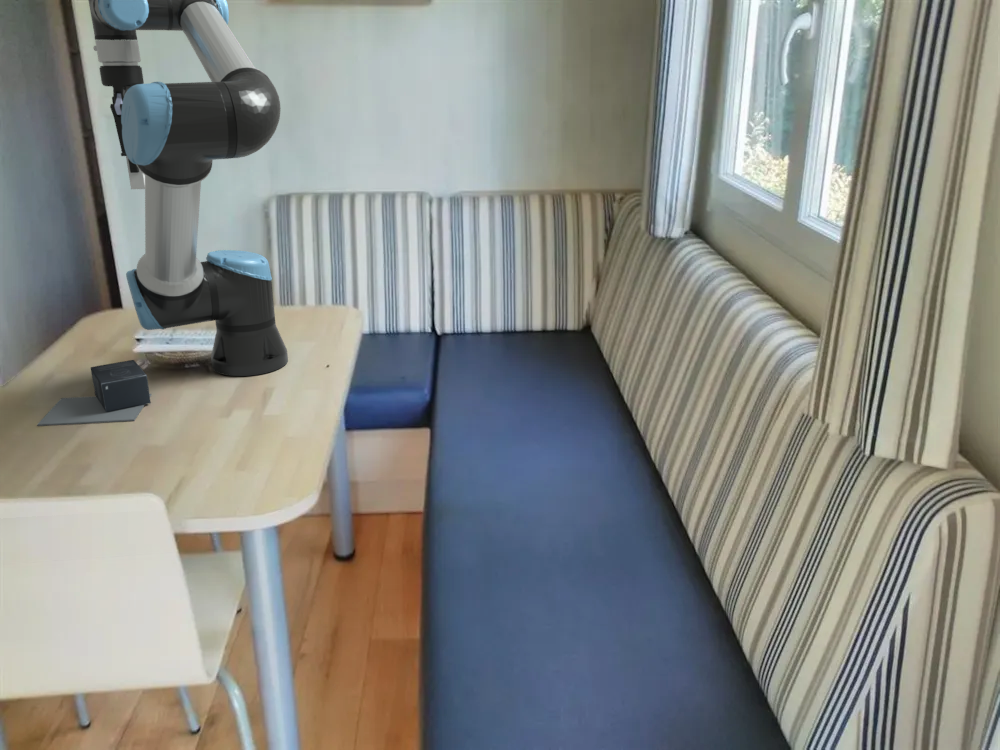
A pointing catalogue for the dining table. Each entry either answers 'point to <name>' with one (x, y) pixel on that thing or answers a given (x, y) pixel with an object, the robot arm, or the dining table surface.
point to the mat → (86, 412)
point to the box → (120, 385)
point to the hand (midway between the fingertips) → (139, 188)
